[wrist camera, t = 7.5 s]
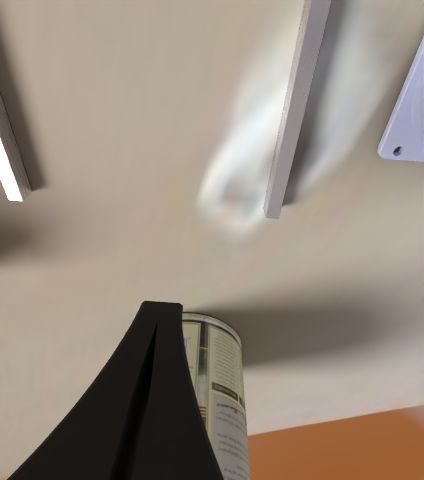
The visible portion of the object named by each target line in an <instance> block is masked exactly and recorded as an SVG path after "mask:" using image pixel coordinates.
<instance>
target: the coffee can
mask: <svg viewBox="0 0 424 480" xmlns="http://www.w3.org/2000/svg"><path fill="white" fill-rule="evenodd" d="M182 326H183V336H184V344H185V350H186V355H187V360H188V366H189V370H190V375H191V379H192V383H193V387H194V391H195V395H196V398H197V402H198V405H199V409H200V412H201V415H202V418H203V422H204V425H205V428H206V431H207V434H208V437H209V440H210V443H211V446H212V448H213V451H214V454H215V456H216V459H217V462H218V464H219V467H220V470H221V472H222V475H223V478H224V480H250V468H249V454H248V440H247V426H246V412H245V398H244V384H243V370H242V356H241V350H242V344H241V340H240V338H239V336H238V334H237V333H236V332H235V331H234V330H233V329H232V328H231V327H230V326H229V325H227V324H225V323H223V322H221V321H220V320H217V319H215V318H213V317H209V316H205V315H201V314H194V313H182Z"/></svg>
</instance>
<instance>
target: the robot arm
mask: <svg viewBox="0 0 424 480" xmlns="http://www.w3.org/2000/svg"><path fill="white" fill-rule="evenodd" d="M397 147H400V149H399V151H398V152H396V153H393V152H394V150H395V148H397ZM377 152H378V154H379V155H380V156H381V157H382V158H384V159H394V160H407V161H420V162H424V37H423V39H422V41H421V44H420V46H419V49H418V51H417V54H416V56H415V59H414V61H413V63H412V66H411V68H410V71H409V73H408V76H407V78H406V80H405V83H404V85H403V88H402V90H401V93H400V95H399V97H398V100H397V102H396V105H395V107H394V110H393V112H392V114H391V117H390V119H389V122H388V124H387V127H386V129H385V132H384V134H383V136H382V139H381V141H380V144H379V146H378V150H377ZM182 312H183V306H182V305H181V304H180V303H168V302H154V301H144V302H143V303H142V304H141V306H140V309H139V311H138V313H137V315H136V317H135V318H134V320H133V322H132V324H131V326H130V327H129V329H128V331H127V332H126V334H125V336H124V337H123V339H122V340H121V342H120V344H119V345H118V347H117V348H116V350H115V351H114V353H113V354H112V356H111V357H110V359H109V360H108V362H107V363H106V365H105V366H104V367H103V369H102V370H101V372H100V373H99V374H98V376H97V377H96V379H95V380H94V381H93V383H92V384H91V385H90V387H89V388H88V389H87V391H86V392H85V393H84V394H83V396H82V397H81V398H80V399H79V401H78V402H77V403H76V404H75V406H74V407H73V408H72V409H71V410H70V412H69V413H68V414H67V415H66V416H65V418H64V419H63V420H62V421H61V422H60V423H59V424H58V426H57V427H56V428H55V429H54V430H53V431H52V433H51V434H50V435H49V436H48V437H47V438H46V439H45V440H44V442H43V443H42V444H41V445H40V446H39V447H38V448H37V449H36V450H35V451H34V452H33V453H32V454H31V456H30V457H29V458H28V459H27V460H26V461H25V462H24V463H23V464H22V465H21V466H20V467H19V468H18V469H17V470H16V471H15V472H14V473H13V474H12V475H11V476H10V477H9V478H8V479H7V480H224V478H223V475H222V472H221V470H220V467H219V464H218V462H217V459H216V456H215V454H214V451H213V448H212V446H211V443H210V440H209V437H208V434H207V431H206V428H205V425H204V422H203V418H202V415H201V412H200V409H199V405H198V402H197V398H196V395H195V391H194V387H193V383H192V379H191V375H190V370H189V366H188V360H187V355H186V350H185V344H184V336H183V326H182Z"/></svg>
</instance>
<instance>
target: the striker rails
mask: <svg viewBox="0 0 424 480" xmlns="http://www.w3.org/2000/svg"><path fill="white" fill-rule="evenodd" d="M331 1H332V0H305V4H304V9H303V14H302V19H301V24H300V29H299V34H298V39H297V44H296V49H295V53H294V58H293V63H292V68H291V73H290V78H289V83H288V88H287V93H286V98H285V103H284V108H283V113H282V118H281V123H280V128H279V133H278V138H277V143H276V148H275V153H274V158H273V163H272V168H271V173H270V178H269V183H268V188H267V193H266V198H265V203H264V212H265V216H266V218H276V219H279V215H280V211H281V207H282V203H283V199H284V195H285V191H286V186H287V182H288V178H289V174H290V170H291V166H292V162H293V158H294V153H295V149H296V145H297V141H298V137H299V133H300V129H301V125H302V120H303V116H304V112H305V108H306V104H307V100H308V96H309V92H310V87H311V83H312V79H313V75H314V71H315V67H316V63H317V59H318V55H319V50H320V46H321V42H322V38H323V34H324V30H325V26H326V22H327V17H328V13H329V9H330V5H331ZM0 178H1V181H2V183H3V186H4V189H5V191H6V194H7V196H8V199H9V200H14V201H23V200H24V199H25V198H26V197H27V196H28V195H29V194H30V193H31V192H32V189H31V186H30V183H29V180H28V177H27V174H26V171H25V168H24V165H23V162H22V159H21V156H20V153H19V150H18V146H17V143H16V140H15V137H14V134H13V131H12V128H11V125H10V122H9V119H8V116H7V113H6V110H5V107H4V104H3V101H2V98H1V95H0Z"/></svg>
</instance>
